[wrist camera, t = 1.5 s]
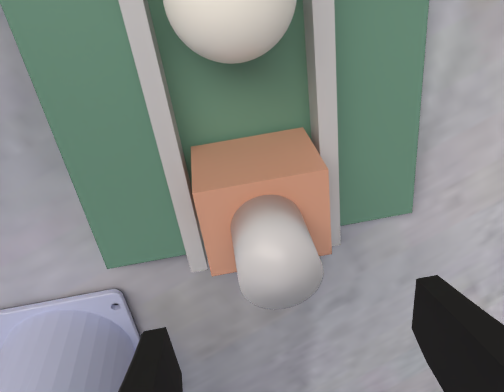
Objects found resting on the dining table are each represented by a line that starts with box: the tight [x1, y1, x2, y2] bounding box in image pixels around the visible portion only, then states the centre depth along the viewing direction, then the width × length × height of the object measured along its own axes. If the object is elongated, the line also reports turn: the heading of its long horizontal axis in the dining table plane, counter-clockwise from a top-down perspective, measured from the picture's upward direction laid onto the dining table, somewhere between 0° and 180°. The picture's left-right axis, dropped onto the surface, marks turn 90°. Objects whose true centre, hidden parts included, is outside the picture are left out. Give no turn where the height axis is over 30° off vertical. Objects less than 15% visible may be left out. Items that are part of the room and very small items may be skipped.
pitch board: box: [0, 0, 429, 273], centre depth 17 cm, size 22×16×2 cm
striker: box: [191, 127, 332, 310], centre depth 17 cm, size 4×5×7 cm
